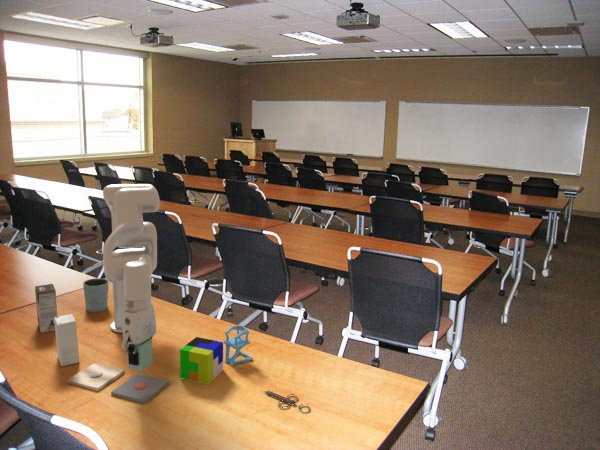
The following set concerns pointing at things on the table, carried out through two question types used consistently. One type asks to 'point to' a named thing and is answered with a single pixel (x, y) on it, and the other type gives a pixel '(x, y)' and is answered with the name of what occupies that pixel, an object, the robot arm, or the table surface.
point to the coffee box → (46, 307)
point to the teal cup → (96, 294)
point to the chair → (237, 344)
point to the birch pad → (95, 376)
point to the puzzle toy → (201, 360)
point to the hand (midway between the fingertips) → (140, 359)
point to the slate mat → (140, 388)
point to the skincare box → (66, 339)
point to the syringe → (282, 398)
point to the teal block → (143, 355)
